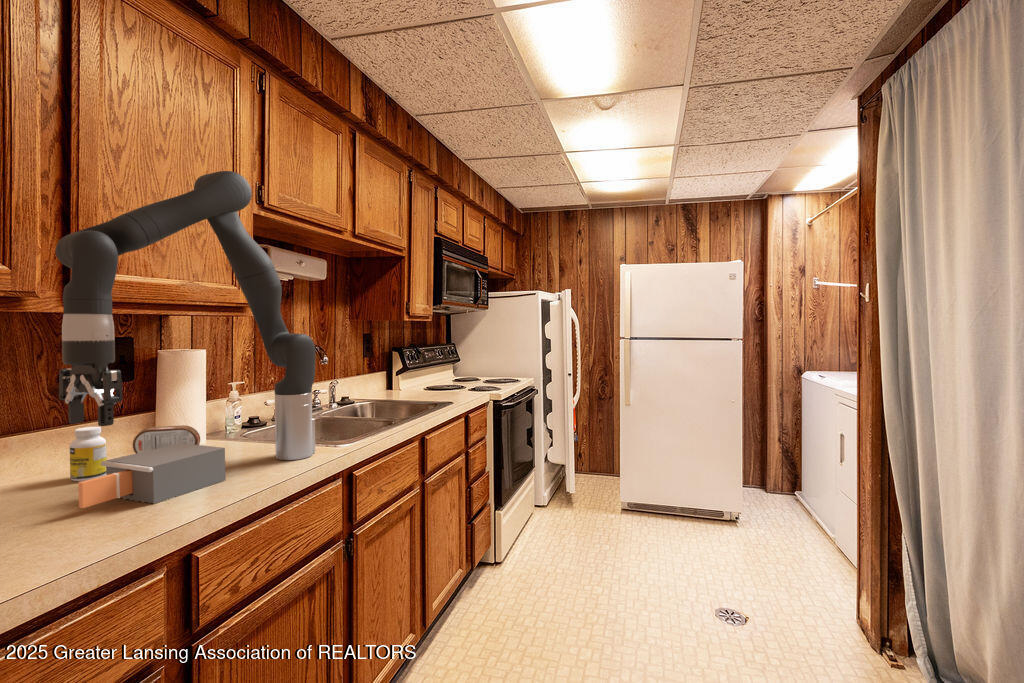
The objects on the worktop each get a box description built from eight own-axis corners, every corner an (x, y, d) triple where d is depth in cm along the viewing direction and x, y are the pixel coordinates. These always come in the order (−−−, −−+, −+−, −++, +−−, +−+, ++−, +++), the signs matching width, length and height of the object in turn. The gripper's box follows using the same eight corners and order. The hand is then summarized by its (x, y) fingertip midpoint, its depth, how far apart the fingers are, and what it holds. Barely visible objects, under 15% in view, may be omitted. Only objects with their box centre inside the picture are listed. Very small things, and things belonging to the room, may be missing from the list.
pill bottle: (65, 479, 113) (63, 429, 113) (99, 472, 119) (97, 424, 119) (78, 483, 110) (76, 432, 110) (112, 476, 116) (111, 427, 116)
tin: (200, 453, 137) (200, 423, 137) (198, 456, 134) (197, 425, 134) (135, 458, 132) (134, 427, 131) (131, 461, 129) (130, 429, 129)
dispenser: (181, 474, 117) (180, 443, 117) (225, 480, 112) (224, 447, 112) (101, 497, 101) (100, 461, 101) (148, 505, 96) (147, 467, 96)
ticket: (173, 479, 109) (173, 458, 109) (177, 479, 108) (177, 458, 108) (78, 507, 92) (78, 482, 92) (83, 508, 91) (82, 483, 91)
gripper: (135, 338, 94) (137, 423, 94) (87, 338, 99) (89, 418, 99) (91, 339, 87) (93, 430, 87) (40, 338, 92) (43, 425, 92)
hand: (90, 424), depth 93 cm, fingers open, 8 cm apart
